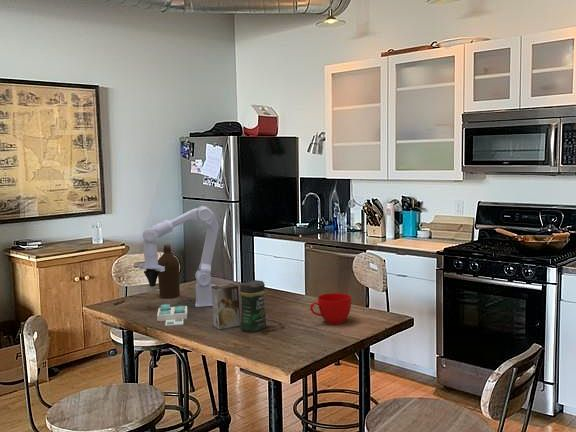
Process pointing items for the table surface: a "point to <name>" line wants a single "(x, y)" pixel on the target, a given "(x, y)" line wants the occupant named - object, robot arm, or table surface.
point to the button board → (172, 314)
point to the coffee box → (226, 306)
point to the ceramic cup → (333, 307)
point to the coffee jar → (253, 306)
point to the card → (174, 322)
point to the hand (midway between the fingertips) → (152, 286)
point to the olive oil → (169, 275)
